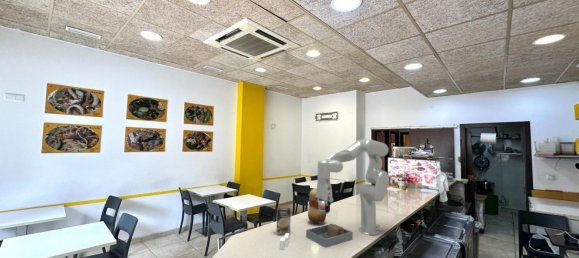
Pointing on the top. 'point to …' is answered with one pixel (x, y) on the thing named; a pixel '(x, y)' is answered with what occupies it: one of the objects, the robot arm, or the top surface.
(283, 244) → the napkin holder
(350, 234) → the crate
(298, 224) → the top surface
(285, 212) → the coffee box
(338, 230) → the brown block
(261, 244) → the top surface
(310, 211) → the butternut squash
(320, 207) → the can
